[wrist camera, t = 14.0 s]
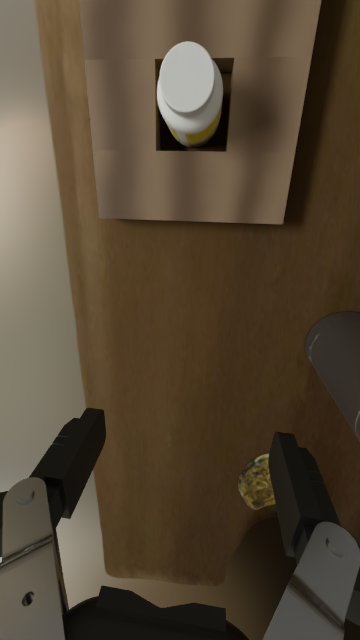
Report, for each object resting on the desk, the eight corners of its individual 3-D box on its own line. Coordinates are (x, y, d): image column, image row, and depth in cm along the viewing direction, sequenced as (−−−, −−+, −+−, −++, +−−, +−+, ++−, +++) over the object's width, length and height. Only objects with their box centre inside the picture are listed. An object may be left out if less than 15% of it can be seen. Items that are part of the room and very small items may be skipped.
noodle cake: (276, 501, 53) (301, 450, 47) (285, 528, 49) (314, 476, 42) (230, 498, 52) (249, 445, 46) (235, 525, 48) (256, 471, 42)
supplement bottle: (229, 97, 27) (239, 47, 18) (207, 156, 29) (206, 137, 20) (179, 74, 27) (163, 12, 18) (161, 135, 29) (139, 107, 20)
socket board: (316, -27, 23) (331, -58, 20) (276, 222, 31) (282, 224, 28) (89, -18, 24) (74, -46, 22) (108, 216, 33) (99, 218, 30)
